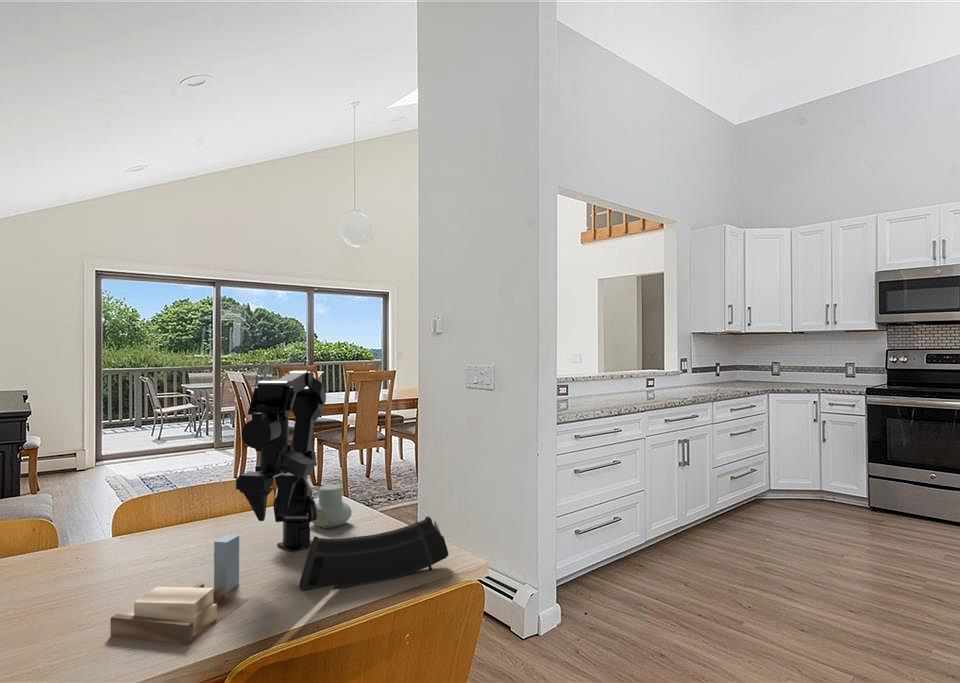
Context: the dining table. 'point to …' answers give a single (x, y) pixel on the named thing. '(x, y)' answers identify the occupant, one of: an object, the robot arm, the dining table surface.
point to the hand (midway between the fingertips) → (273, 514)
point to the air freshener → (331, 507)
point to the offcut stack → (178, 605)
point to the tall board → (226, 562)
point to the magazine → (373, 556)
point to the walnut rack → (171, 622)
